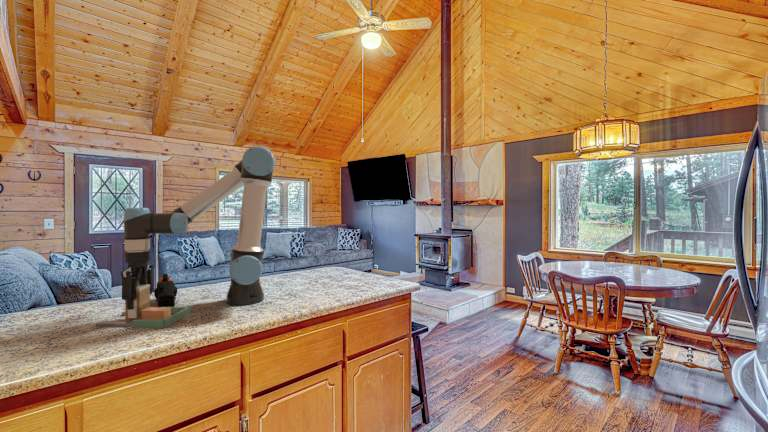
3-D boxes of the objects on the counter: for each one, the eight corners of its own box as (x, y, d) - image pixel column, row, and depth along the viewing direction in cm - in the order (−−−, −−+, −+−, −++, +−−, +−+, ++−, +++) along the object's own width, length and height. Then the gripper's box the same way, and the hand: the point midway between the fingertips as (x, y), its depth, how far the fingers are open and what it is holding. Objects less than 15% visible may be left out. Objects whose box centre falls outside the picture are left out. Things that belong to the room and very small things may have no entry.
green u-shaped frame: (190, 313, 135) (190, 306, 135) (165, 327, 119) (165, 320, 119) (161, 313, 135) (161, 306, 135) (132, 327, 119) (132, 320, 119)
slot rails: (157, 313, 134) (157, 311, 134) (131, 326, 120) (131, 323, 120) (125, 313, 134) (125, 311, 134) (95, 326, 120) (95, 323, 120)
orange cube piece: (170, 318, 129) (170, 307, 129) (163, 322, 125) (163, 310, 125) (159, 318, 129) (159, 307, 129) (152, 321, 125) (152, 310, 125)
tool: (154, 328, 138) (153, 296, 133) (155, 294, 156) (153, 265, 151) (178, 324, 143) (178, 293, 137) (176, 292, 160) (175, 263, 155)
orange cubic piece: (159, 318, 129) (159, 307, 129) (152, 321, 125) (152, 310, 125) (148, 318, 129) (148, 307, 129) (141, 321, 125) (141, 310, 125)
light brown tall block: (150, 317, 130) (150, 284, 129) (140, 322, 124) (139, 288, 124) (136, 317, 130) (136, 284, 129) (125, 322, 124) (124, 287, 124)
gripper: (144, 247, 135) (145, 307, 136) (106, 254, 117) (108, 323, 118) (164, 247, 135) (165, 307, 136) (129, 254, 117) (130, 323, 118)
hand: (138, 314), depth 127 cm, fingers closed on light brown tall block, 5 cm apart
